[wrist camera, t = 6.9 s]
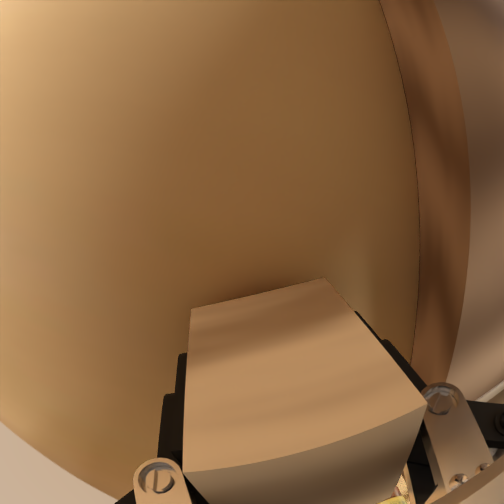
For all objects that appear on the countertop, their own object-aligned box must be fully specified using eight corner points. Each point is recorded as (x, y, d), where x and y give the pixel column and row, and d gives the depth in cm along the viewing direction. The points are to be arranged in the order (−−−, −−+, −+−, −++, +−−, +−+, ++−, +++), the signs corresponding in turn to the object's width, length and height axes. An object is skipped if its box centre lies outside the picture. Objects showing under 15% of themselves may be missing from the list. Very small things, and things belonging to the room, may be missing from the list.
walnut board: (370, -23, 7) (410, -55, 4) (487, 12, 8) (526, 2, 5) (390, 454, 17) (406, 483, 14) (470, 410, 17) (489, 433, 14)
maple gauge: (191, 308, 10) (182, 472, 4) (324, 277, 10) (428, 403, 4) (250, 463, 13) (269, 559, 7) (333, 442, 13) (371, 531, 8)
